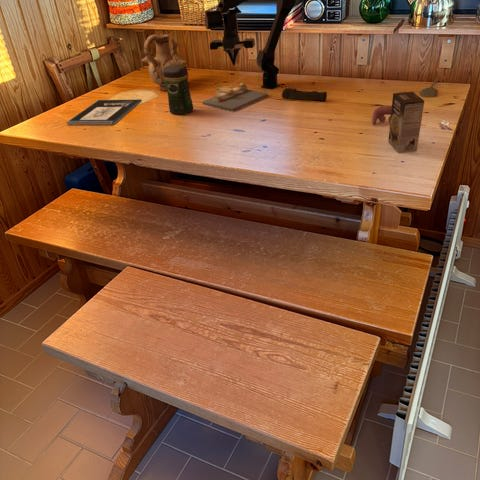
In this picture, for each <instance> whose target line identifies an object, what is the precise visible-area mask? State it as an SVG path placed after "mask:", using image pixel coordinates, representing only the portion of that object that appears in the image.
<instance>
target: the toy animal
mask: <svg viewBox="0 0 480 480" xmlns="http://www.w3.org/2000/svg"><path fill="white" fill-rule="evenodd" d="M391 110H392V105H382V106H378V107H376V108H375V109H374V111H373V113H372V119H371V120H372V121H371V123H372V126H375V125H376V124H377V122H378V121H379V123H385V122H386V116H385V115H388V116H389V115H390V116H389V117H388V119H387V120H388V122H389V123H390V120H391Z"/></svg>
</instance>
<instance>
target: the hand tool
mask: <svg viewBox="0 0 480 480" xmlns="http://www.w3.org/2000/svg"><path fill="white" fill-rule="evenodd" d="M281 97H282V99H284V100H290V101H295V100H306V101H307V100H310V101H316V102H317V101H318V102H319V101H320V102H321V101H322V103H325V102H327V97H328V95H327V91H307V90H297V88H291V87H288V88H287V87H285V88H284V89H283V90H282V93H281Z"/></svg>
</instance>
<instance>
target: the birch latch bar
mask: <svg viewBox="0 0 480 480" xmlns="http://www.w3.org/2000/svg"><path fill="white" fill-rule="evenodd" d="M231 89H233V92H231V93H227V92H222V93H219V94H214V95H213V96H212V98H213V100H214V101H217V102H219V101H222V100H224V99H227V98H230V97H232V96H235V95H237V94H240V93H242V92H246V91H247V89H248V85H247V84H245V86H240V84H239V85H238V86H236V87H233V88H231Z"/></svg>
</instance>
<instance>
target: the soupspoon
mask: <svg viewBox="0 0 480 480" xmlns="http://www.w3.org/2000/svg"><path fill="white" fill-rule="evenodd" d="M438 82H440V78H435V79H434V80H433V82H432V84H431V85H430V87H425V88H423V89H422V90H420V92H419V95H420V97H423V98H436V97H437V95H438V93H439V91H438V89H436V88H434V85H435V84H436V83H438Z"/></svg>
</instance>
